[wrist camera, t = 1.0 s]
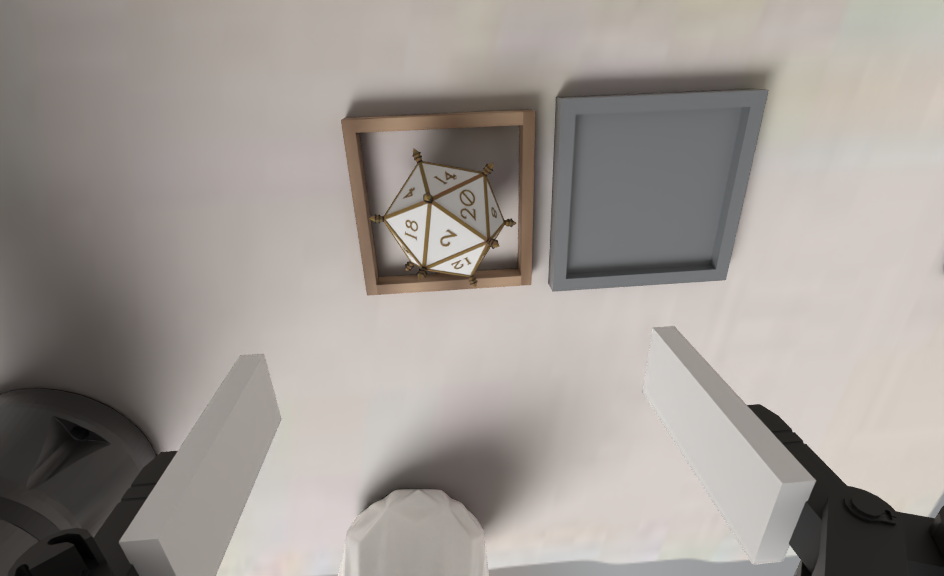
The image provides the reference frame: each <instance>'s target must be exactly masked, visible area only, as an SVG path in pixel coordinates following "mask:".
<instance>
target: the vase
mask: <svg viewBox="0 0 944 576" xmlns="http://www.w3.org/2000/svg"><path fill="white" fill-rule="evenodd" d="M338 576H489V572H488V564H487V556H486V546H485V538H484V531H483V528H482V527H481V525H480V524H479V522H478V521H477V519H476V518H475V516H474V515H473V514H472V513H471V512H470V511H468V510H467V509H466V508H465V506H464V505H463V504H462V503H461V502H459V501H456V500H454V499H451V498H450V497H449V496H448V495H447V494H446V493H445V492H443V491H442V490H438V489H400V490H395V491H393V492H391V493H390V494H389V495H387V496H386V497H385V498H384V499H382V500H379V501H377V502H375V503H373V504H372V505H371V506H369V508H368V509H366V510H365V511H363V512H362V513H361V514H359V516H358V517H357V518H356V519H355V520H354V522H353V523H352V525H351V526H350V528H349V529H348V531H347V533H346V540H345V545H344V550H343V555H342V560H341V565H340V569H339V575H338Z"/></svg>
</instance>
